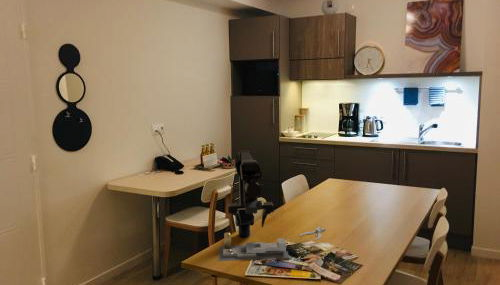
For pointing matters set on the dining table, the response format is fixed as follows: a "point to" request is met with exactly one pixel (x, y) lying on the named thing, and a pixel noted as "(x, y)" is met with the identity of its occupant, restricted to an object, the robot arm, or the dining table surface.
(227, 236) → the brass pin
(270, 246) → the metal latch plate
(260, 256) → the gray rectangular board
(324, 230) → the pliers
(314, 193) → the dining table surface
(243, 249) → the grey slotted plate
